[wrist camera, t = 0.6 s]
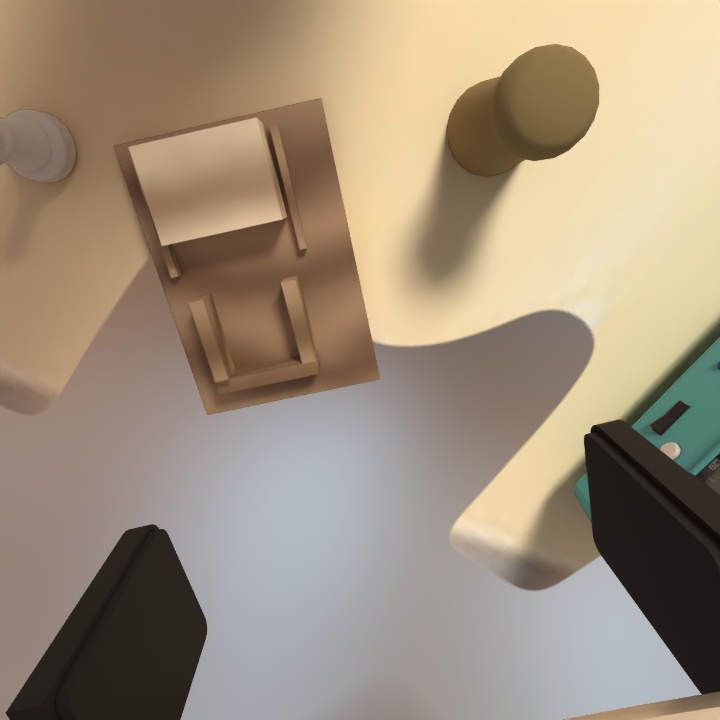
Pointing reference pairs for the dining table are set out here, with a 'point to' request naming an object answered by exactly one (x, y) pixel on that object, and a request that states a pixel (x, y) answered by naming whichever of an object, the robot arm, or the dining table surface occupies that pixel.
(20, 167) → the rook chess piece
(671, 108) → the dining table surface
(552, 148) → the cork
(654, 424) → the radio
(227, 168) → the cream rectangular block
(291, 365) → the board
